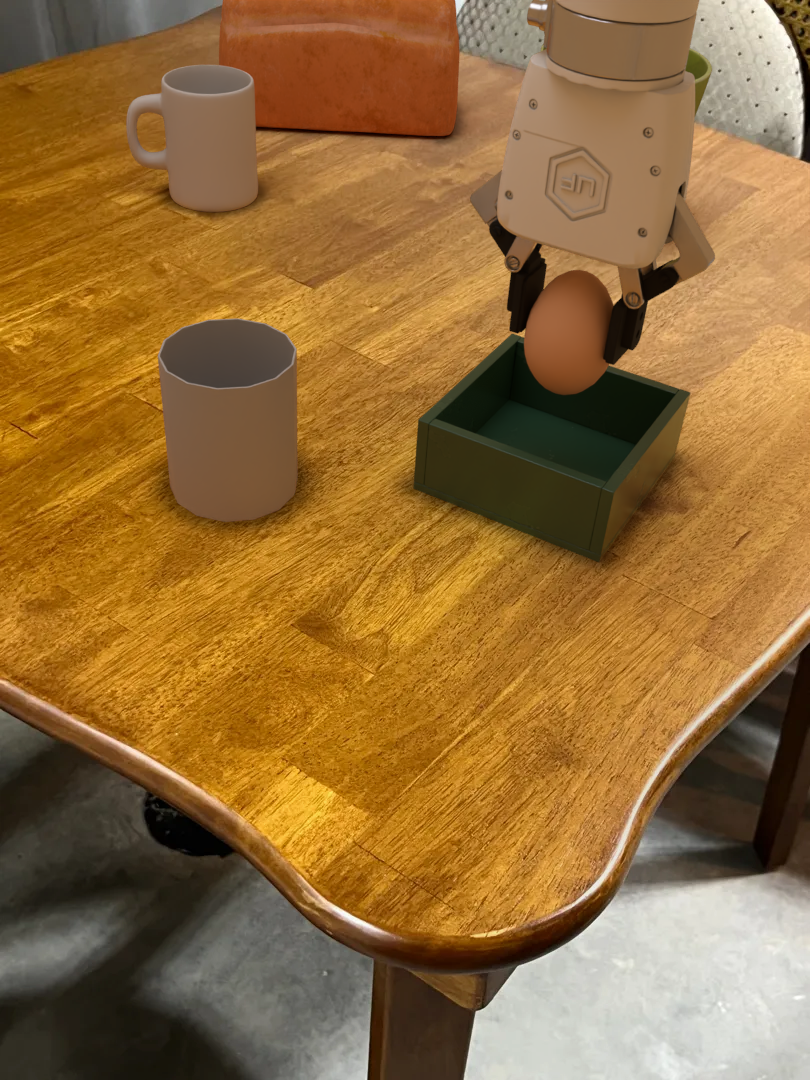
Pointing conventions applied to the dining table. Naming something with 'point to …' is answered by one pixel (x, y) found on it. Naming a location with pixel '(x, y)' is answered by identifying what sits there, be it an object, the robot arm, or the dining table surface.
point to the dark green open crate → (549, 449)
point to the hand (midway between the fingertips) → (570, 336)
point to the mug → (203, 136)
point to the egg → (569, 333)
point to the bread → (347, 63)
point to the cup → (230, 418)
